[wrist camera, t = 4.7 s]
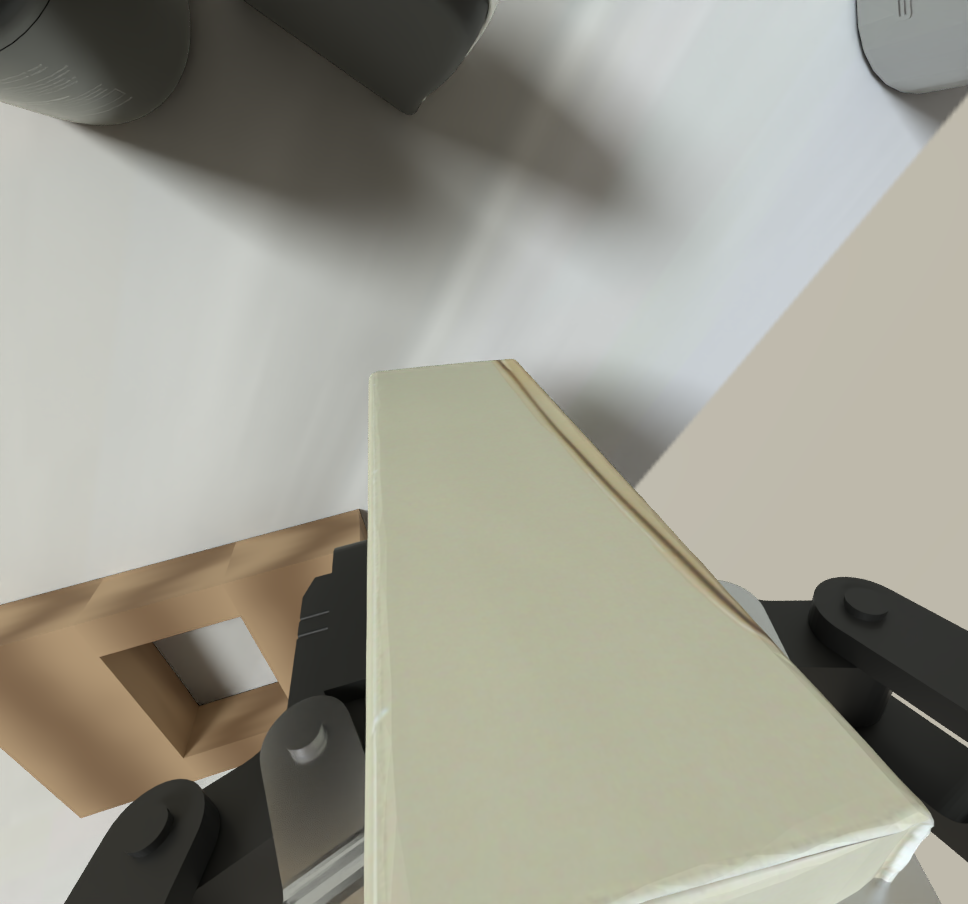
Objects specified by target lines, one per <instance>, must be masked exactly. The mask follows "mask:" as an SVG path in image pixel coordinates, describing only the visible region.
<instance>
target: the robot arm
mask: <svg viewBox="0 0 968 904" xmlns="http://www.w3.org/2000/svg"><path fill="white" fill-rule="evenodd" d="M857 14H858V28H859V33H860V37H861V41H862V45H863V50H864V53H865V55H866V57H867V59H868V61H869V63H870V65H871V67H872V69H873V71H874V72H875V73H876V74H877V75H878V76H879V77H880V78H881V79H882V80H883V82H884V83H885V84H886V85H888V86H890V87H892V88H894V89H896V90H898V91H900V92H905V93H913V94H921V93H927V92H933V91H938V90H944V89H950V88H955V87H961V86H966V85H968V0H857ZM367 548H368V539H367V540H363V541H359V542H356V543H352V544H348V545H344V546H340V547H337V548H334V551H333V563H332V573H329V574H326V575H322V576H318V577H315V578H314V580H313V581H312V583H311V584H310V586H309V588H308V589H307V591H306V593H305V594H304V596H303V598H302V605H301V612H300V622H299V626H298V634H297V635H298V639H297V641H296V648H295V655H294V662H293V669H292V677H291V684H290V691H289V698H288V705H287V710H286V711H285V712H284V713H282V714H281V716H280V717H279V718H278V719H277V720H276V721H275V722H274V723H273V725H272V726H271V728H270V729H269V731H268V733H267V734H266V736H265V739H264V741H263V744H262V747H261V750H260V751H259V752H258V753H257V754H256V755H255V756H253V757H252V758H251V759H249V760H248V761H247V762H245V763H244V764H242V765H241V766H239V767H237V768H236V769H234V770H233V771H231V772H229V773H228V774H226V775H225V776H223V777H221V778H220V779H218V780H217V781H215V782H213V783H212V784H210V785H209V786H207V787H205V788H204V789H201V788H200V786H199V785H198V784H196V783H195V782H194V781H191V780H188V779H174V780H170V781H167V782H164V783H161V784H159V785H157V786H155V787H153V788H152V789H150V790H148V791H147V792H145V793H144V794H142V795H141V796H140V797H138V798H137V799H136V800H135V801H134V802H133V803H131V804H130V805H129V806H128V807H127V808H126V809H125V810H124V811H123V812H122V813H121V814H120V816H119V817H118V818H117V819H116V821H115V822H114V823H113V824H112V826H111V827H110V829H109V830H108V832H107V833H106V835H105V837H104V838H103V840H102V842H101V843H100V845H99V847H98V848H97V850H96V852H95V853H94V855H93V857H92V858H91V860H90V862H89V863H88V865H87V867H86V868H85V870H84V872H83V873H82V875H81V877H80V878H79V880H78V882H77V883H76V885H75V887H74V888H73V890H72V892H71V893H70V895H69V897H68V898H67V900H66V901H65V903H64V904H364V833H365V761H366V639H367ZM717 581H718V582H719V583H720V584H721V585H722V586H723V587H724V588H725V589H726V590H727V592H728V593H729V594H730V595H731V596H732V597H733V598H734V599H735V600H736V601H737V602H738V603H739V604H740V605H741V606H742V608H743V609H744V610H745V611H746V612H747V613H748V614H749V615H750V617H751V618H752V619H753V620H754V621H755V622H756V623H757V624H758V625H759V626H760V627H761V628H762V630H763V631H764V632H765V633H766V634H767V635H768V636H769V637H770V638H771V639H772V641H773V642H774V643H775V644H776V645H777V646H778V647H779V648H780V650H781V651H782V652H783V653H784V654H785V655H786V656H787V657H788V659H789V660H790V661H791V662H792V663H793V664H794V665H795V666H796V667H797V668H798V669H799V670H800V671H801V672H802V673H803V674H804V675H805V676H806V678H807V679H808V680H809V681H810V682H811V683H812V684H813V685H814V686H815V687H816V688H817V689H818V690H819V691H820V692H821V693H822V695H823V696H824V697H825V698H826V699H827V700H828V701H829V702H830V703H831V704H832V705H833V707H834V708H835V709H836V710H837V711H838V712H839V713H840V714H841V715H842V716H843V717H844V719H845V720H846V721H847V722H848V723H849V724H850V725H851V726H852V727H853V728H854V729H855V731H856V732H857V733H858V734H859V735H860V736H861V737H862V738H863V739H864V740H865V741H866V742H867V744H868V745H869V746H870V747H871V748H872V749H873V750H874V751H875V752H876V753H877V755H878V756H879V757H880V758H881V759H882V760H883V761H884V762H885V763H886V765H887V766H888V767H889V768H890V769H891V770H892V771H893V772H894V773H895V774H896V776H897V777H898V778H899V779H900V780H901V781H902V782H903V783H904V784H905V785H906V786H907V787H908V788H909V789H910V790H911V791H912V792H913V793H914V794H915V795H916V796H917V797H918V798H919V799H920V800H921V801H922V802H923V804H924V805H925V806H926V808H927V809H928V811H929V812H930V813H931V816H932V818H933V820H934V826H933V827H932V828H931V832H932V833H934V834H935V835H936V836H937V837H938V838H939V839H941V840H942V841H943V842H944V843H946V844H947V845H948V846H949V847H950V848H951V849H953V850H954V851H955V852H956V853H957V854H959V855H960V856H961V857H962V858H964V859H965V860H966V861H967V862H968V748H967V747H966V746H964V745H963V744H961V743H960V742H958V741H957V740H956V739H954V738H952V737H951V736H950V735H948V734H947V733H945V732H944V731H943V730H941V729H940V728H938V727H937V726H935V725H934V724H932V723H930V722H929V721H928V720H926V719H925V718H924V717H922V716H921V715H919V714H918V713H916V712H915V711H913V710H912V709H910V708H909V707H908V706H906V705H905V704H903V703H902V702H900V701H899V700H897V699H896V698H894V697H893V696H891V694H892V692H894V693H896V694H897V695H899V696H900V697H902V698H903V699H905V700H906V701H908V702H909V703H911V704H912V705H913V706H915V707H916V708H918V709H919V710H921V711H922V712H924V713H925V714H927V715H928V716H930V717H931V718H933V719H934V720H936V721H937V722H939V723H940V724H941V725H943V726H945V727H946V728H947V729H949V730H950V731H952V732H953V733H955V734H956V735H958V736H959V737H961V738H962V739H964V740H965V741H967V742H968V631H967V630H965V629H963V628H961V627H959V626H957V625H956V624H954V623H952V622H950V621H948V620H946V619H944V618H942V617H941V616H939V615H937V614H935V613H933V612H931V611H929V610H927V609H926V608H924V607H922V606H920V605H918V604H916V603H914V602H912V601H911V600H909V599H907V598H905V597H903V596H901V595H899V594H897V593H895V592H894V591H892V590H890V589H888V588H886V587H884V586H882V585H879V584H877V583H874V582H871V581H867V580H864V579H859V578H851V577H837V578H831V579H828V580H825V581H824V582H822V583H820V584H819V585H818V586H817V588H816V589H815V592H814V596H813V600H812V601H763V600H758V599H757V598H756V597H755V596H753V595H752V594H751V593H750V592H748V591H747V590H745V589H744V588H742V587H740V586H738V585H735V584H732V583H729V582H725V581H720V580H717ZM836 904H941V902H940V900H939V898H938V896H937V895H936V893H935V891H934V889H933V887H932V885H931V884H930V882H929V880H928V878H927V876H926V874H925V872H924V871H923V869H922V867H921V865H920V863H919V861H918V860H917V858H916V856H915V854H913V855H912V857H911V859H910V861H909V862H908V864H907V865H906V866H905V867H904V868H903V869H902V870H901V871H900V872H899V873H898V874H897V875H896V877H895V878H894V880H893V881H892V882H887V881H885V880H883V879H882V878H875V877H874V878H873V879H872V880H871V881H869V882H868V883H867V884H866V885H865V886H864V887H862V888H861V889H860V890H859V891H857V892H855V893H854V894H852V895H850V896H848V897H847V898H845V899H843V900H842V901H840V902H838V903H836Z"/></svg>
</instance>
